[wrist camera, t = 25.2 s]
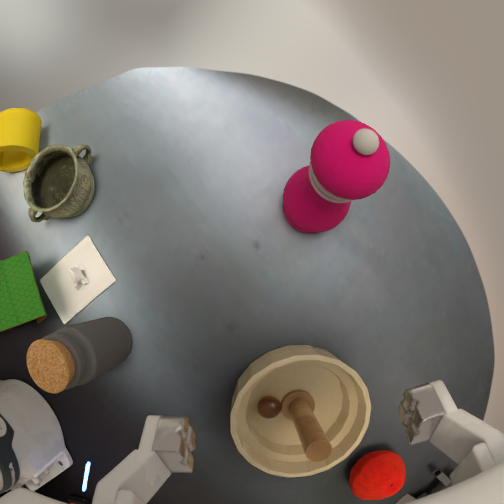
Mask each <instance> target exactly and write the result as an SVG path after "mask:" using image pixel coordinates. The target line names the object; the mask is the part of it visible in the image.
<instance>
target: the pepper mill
mask: <svg viewBox="0 0 504 504" xmlns="http://www.w3.org/2000/svg"><path fill="white" fill-rule="evenodd" d="M310 159H311V162H310V165H309V166H306V167H304V168H302V169H300V170H298V171H297V172H295V173H294V174H293V175H292V177H291V178H290V179H289V180H288V182H287V184H286V186H285V189H284V194H283V201H284V204H283V209H284V214H285V217H286V219H287V220H288V222H289V223H290V224H291V226H293V227H294V228H295V229H297V230H299V231H301V232H304V233H316V232H324V231H328V230H330V229H333V228H334V227H336V226H337V225H338V224H339V223H340V222H341V221H342V220H343V219H344V218H345V216H346V215H347V213H348V210H349V207H350V203H351V201H353V200H356V199H362V198H365V197H367V196H369V195H371V194H373V193H375V192H376V191H377V190H378V189H379V188H380V187H381V186H382V185H383V183H384V182H385V180H386V178H387V175H388V173H389V168H390V156H389V151H388V148H387V146H386V144H385V142H384V140H383V139H382V137H381V136H380V135H379V134H378V133H377V132H376V131H375V130H374V129H373V128H371V127H369V126H368V125H366V124H364V123H361V122H358V121H353V120H344V121H339V122H335V123H333V124H331V125H329V126H327V127H326V128H325V129H323V130H322V131H321V132H320V133H319V135H318V136H317V138H316V139H315V141H314V143H313V146H312V149H311V157H310Z"/></svg>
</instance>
